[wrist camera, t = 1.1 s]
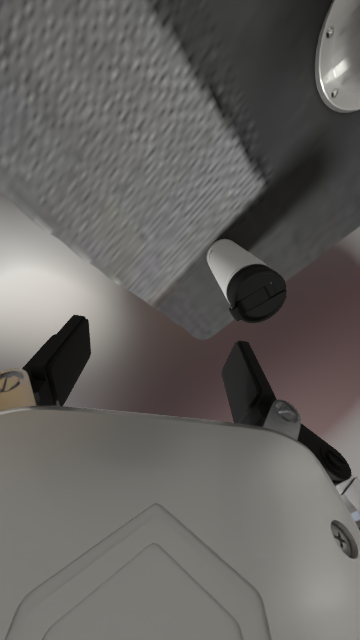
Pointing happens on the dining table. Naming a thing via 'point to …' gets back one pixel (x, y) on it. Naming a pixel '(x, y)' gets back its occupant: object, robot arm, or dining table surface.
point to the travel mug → (246, 282)
